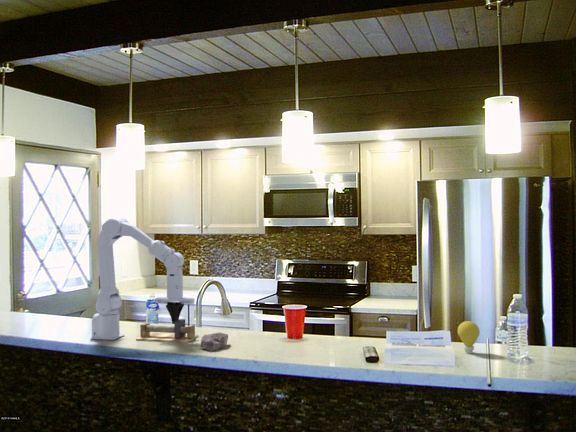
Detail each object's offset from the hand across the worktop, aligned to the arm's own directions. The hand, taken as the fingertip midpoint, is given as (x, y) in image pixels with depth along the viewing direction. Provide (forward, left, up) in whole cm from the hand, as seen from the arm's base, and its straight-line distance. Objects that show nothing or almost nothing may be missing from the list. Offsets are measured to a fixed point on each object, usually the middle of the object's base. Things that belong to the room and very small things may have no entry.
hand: (175, 323), depth 210 cm
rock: (+19, -9, -6) cm, 22 cm away
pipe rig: (-3, 0, -6) cm, 6 cm away
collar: (+2, 0, -6) cm, 6 cm away
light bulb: (+102, 0, -6) cm, 102 cm away
